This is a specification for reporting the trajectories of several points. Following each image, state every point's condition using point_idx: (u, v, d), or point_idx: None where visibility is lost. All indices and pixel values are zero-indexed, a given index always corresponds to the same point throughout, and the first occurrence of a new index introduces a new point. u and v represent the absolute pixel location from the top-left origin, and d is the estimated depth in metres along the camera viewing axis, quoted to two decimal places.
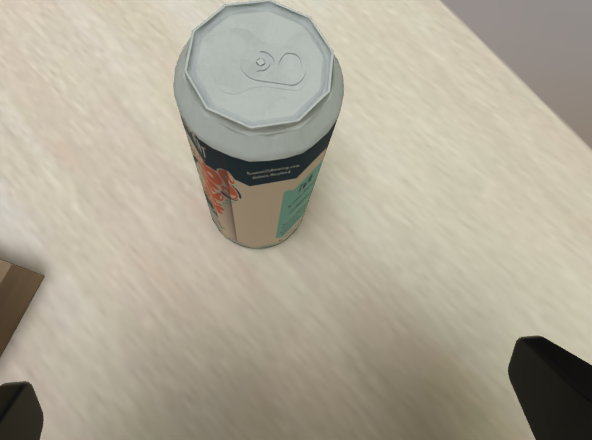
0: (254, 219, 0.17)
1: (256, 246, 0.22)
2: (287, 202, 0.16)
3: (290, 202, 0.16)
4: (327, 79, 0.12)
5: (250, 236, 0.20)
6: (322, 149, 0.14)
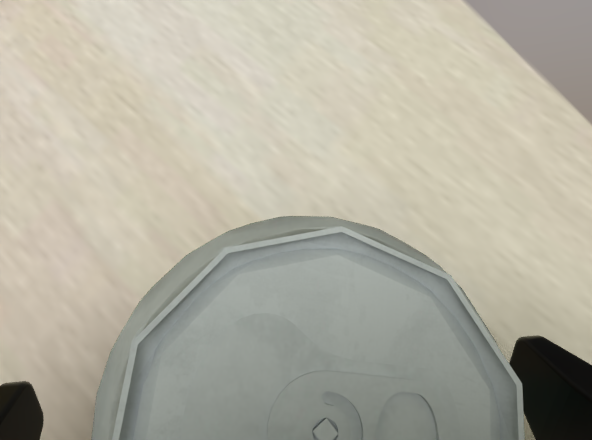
0: None
1: None
2: None
3: None
4: None
5: None
6: None
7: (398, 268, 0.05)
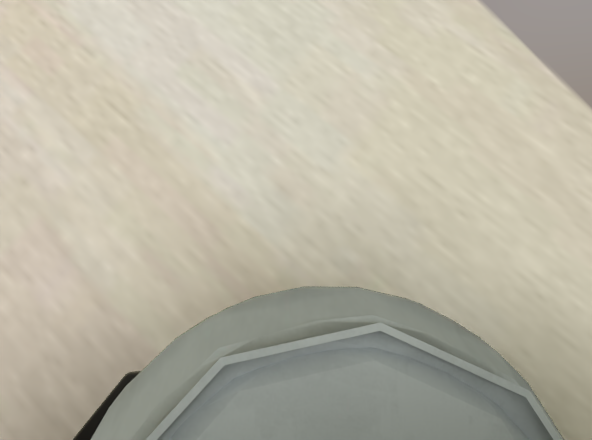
0: None
1: None
2: None
3: None
4: None
5: None
6: None
7: (455, 374, 0.04)
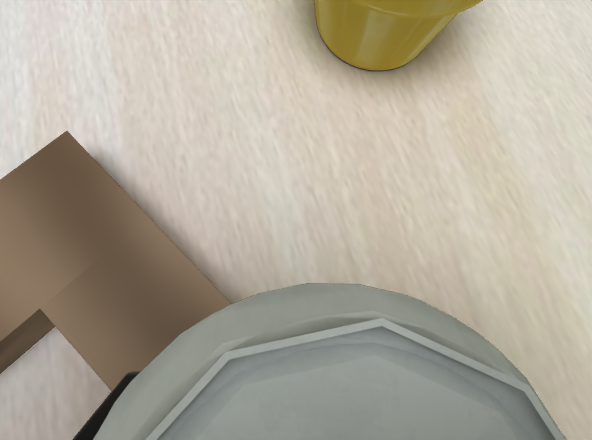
0: None
1: None
2: None
3: None
4: None
5: None
6: None
7: (455, 369, 0.04)
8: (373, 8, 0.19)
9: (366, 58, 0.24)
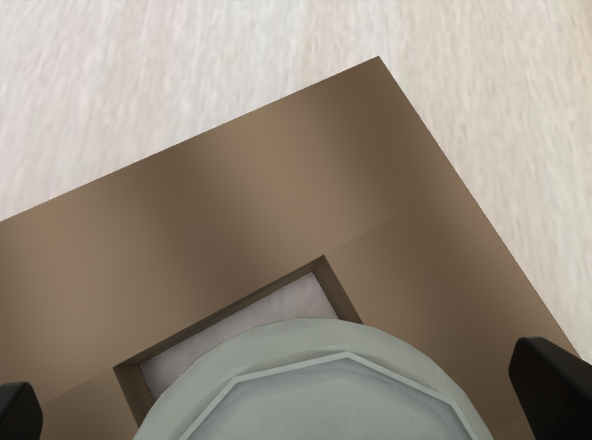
0: None
1: None
2: None
3: None
4: None
5: None
6: None
7: (403, 388, 0.05)
8: None
9: None
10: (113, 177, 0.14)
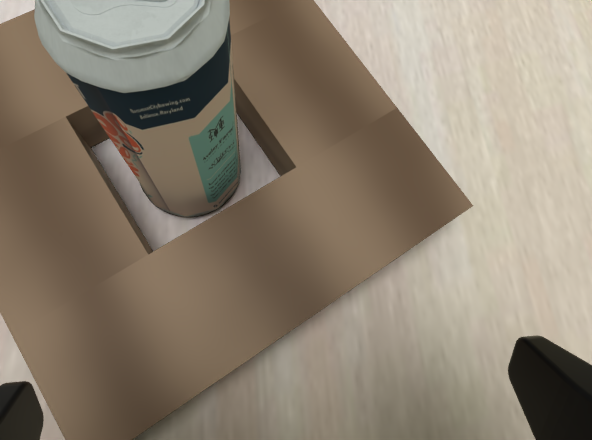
0: (170, 177, 0.16)
1: (190, 214, 0.21)
2: (199, 152, 0.15)
3: (203, 152, 0.15)
4: None
5: (177, 201, 0.19)
6: (220, 84, 0.13)
7: None
8: None
9: None
10: None
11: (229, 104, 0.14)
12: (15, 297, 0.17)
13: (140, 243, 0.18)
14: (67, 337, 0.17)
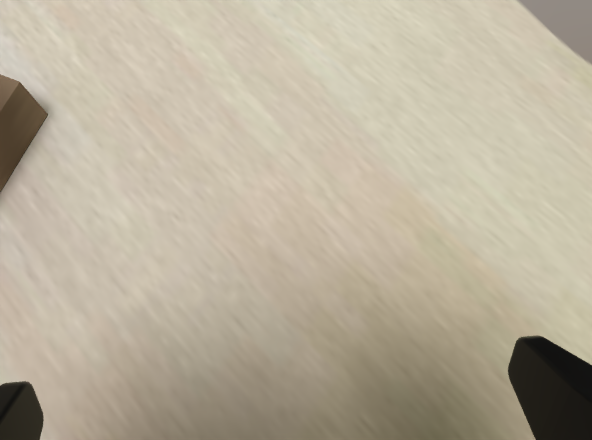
0: None
1: None
2: None
3: None
4: None
5: None
6: None
7: None
8: None
9: None
10: None
11: None
12: None
13: None
14: None
